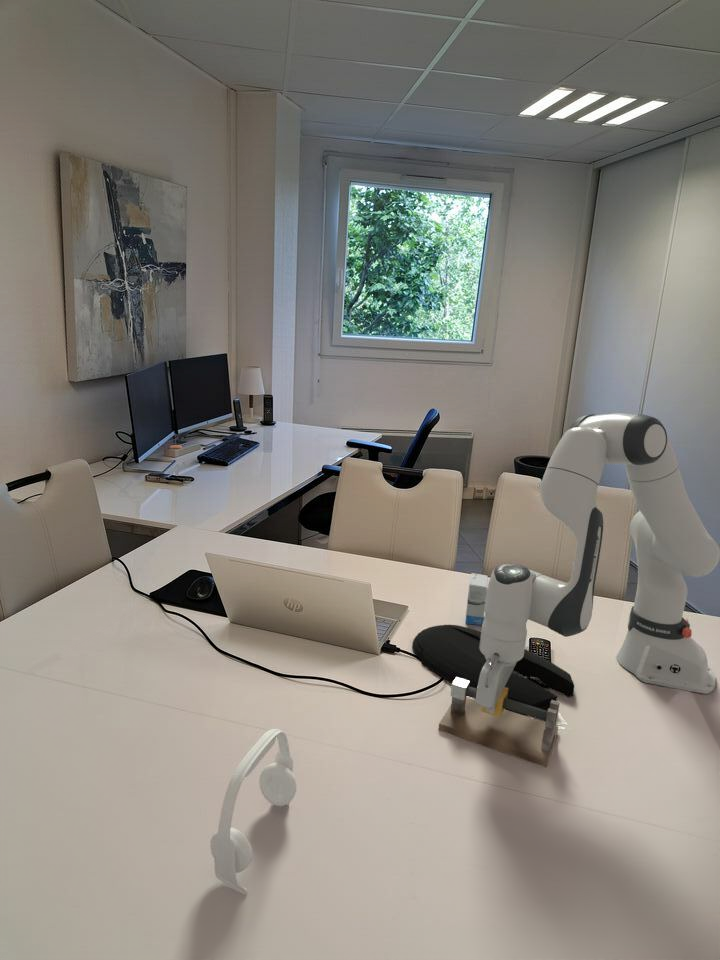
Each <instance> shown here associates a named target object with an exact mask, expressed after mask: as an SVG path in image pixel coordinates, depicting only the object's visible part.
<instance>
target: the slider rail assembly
mask: <svg viewBox="0 0 720 960" xmlns="http://www.w3.org/2000/svg"><path fill="white" fill-rule="evenodd" d="M560 703H561V702H560V701H558V700H557V701H554V700H551V703H550V708H548V711H547V717H546V721H543V720H540V719H537V718H534V717H530V716H524V715H521V714H517V713H514V712H511V711H508V710H505V709H504V711H503V713H502V715H501V717H500V718H499V717H496V716H493V715H490V714H487V713H484V712H481V709H482V707H481V706H478V705H477V704H476V699H475V698H472V697H469V696H467V697H466V704H465V710H464V712H463V714H462V716H460V715H457V714H454V713H451V712H450V711H451V704H450V705H449V707H448V709H447V710H446V712H445V713H444V715H443V716H442V719H440V721H439V722H438V723H439V724H438V731H441V732H444V733H447V734H449V735H452V736H455V737H458V738H461V739H465V741H469V742H473V743H476V744H478V745H481V746H484V747H486V748H490V749H492V750H495V751H498V752H501V753H504V754H507V755H510V756H512V757H514V758H518V759H521V760H524V761H527V762H529V763H532V764H535V765H538V766H540V767H544V768H547V766H548V764H549V763H548V762H549V760H550V756H551V753H552V750H553V749H554V748H553V747H554V744H555V741H556V739H557V735H558V731H559V726H558V725H557V723H558V717H559V716H558V715H559V709H560ZM556 714H557V719H556ZM555 719H556V723H555Z"/></svg>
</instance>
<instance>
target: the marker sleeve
mask: <svg viewBox="0 0 720 960" xmlns="http://www.w3.org/2000/svg"><path fill="white" fill-rule="evenodd" d="M507 694H508V688H507V687H504V689H503V691H502V693H501V695H500V697H499V699H498V701H497V704H496V709H495V712H494V713H493V714H492V713H489V712H487V711H486V710H485V709H486V708H484V707H482V709H481V712H484V713H487V714H490V715H493V716H496V717H499V718H500V717H501V715H502V713H503V711H504V709H505V708H503V700H504V698H507Z"/></svg>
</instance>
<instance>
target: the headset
mask: <svg viewBox="0 0 720 960" xmlns="http://www.w3.org/2000/svg"><path fill="white" fill-rule="evenodd" d="M276 739H277V742H278V743H277V744H278V752H277V753H276V755H275V757H274V762H273V763H270V764H267V765H266V766H265V767H264V768H263V769H262V771H261V772H260V773H261V774H260V776H259V780H258V781H259V782H258V783H259V789H260V792H261V795H262V796H263V798H264V799H265V800H266V801H267V802H269V803H270V804H271V805H273V806H276V807H277V806H278V807H283V806H287V807H289V806H290V803H291V802H292V800H293V799H294V797H295V795H296V793H297V781H296V777H295V775H294V773H293V772H294V759H293V758H292V757H293V756H291V752H290V745H289V742H288V738H287V735H286V733H285V732H283V731H282V730H281V729H279V728H271V729H269V730H268V731H267V730H266V732H265V733H264V734H263V735H262V736H261V737H260V738H259V739H258V740H257V741H256V742H255V744H254V745H253V746H252V747H251V748H250V749H249V751H248V752H247V753H246V754H245V756H244V757H243V758H242V760H241V761H240V763H239V764H238V766H237V767H236V769H235V771H234V772H233V774H232V777H231V778H230V781H229V783H228V785H227V788H226V790H225V794H224V797H223V802H222V804H221V805H222V806H221V812H220V817H219V822H218V827H217V830H216V831H215V832H214V833H213V834H212V836H211V839H210V845H209V846H210V851H211V852H210V854H211V855H212V857H213V859H214V860H213V862H214V872H215V873H214V874H215V877H216V878H217V879H218V880H219V881H220V882H221V883H223V884H224V885H226V886H228V887H229V888H231V889H232V890H234V891H237V892H238V893H240V894H243V895H245V896H247V895H248V889H247V888H246V887H245V886H244V885H242V884H240V883H239V880H238V879H237V874H238V873H243V872H244V871H245V870H247V868H249V866H250V864H251V862H252V858H253V851H252V850H253V849H252V846H251V844H250V841H249V839H248V838H247V837H246V836H245V834H243V833H242V831H240V830H239V829H237V828H235V827H231V826H232V822H233V821H232V820H233V814H234V810H235V805H236V800H237V797H238V794H239V792H240V789H241V786H242V783H243V781H244V780H245V778H247V777H249V775H250V774H251V773H252V772H253V771H254V769H255V768H256V767H257V766H258V764H259V763H261V761H262V760H263V758H264V757H265V756H266V755H267V753H268V752H269V751H270V750H271V748H272V747H273V746H274V744H275V742H276Z"/></svg>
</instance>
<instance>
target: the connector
mask: <svg viewBox="0 0 720 960" xmlns="http://www.w3.org/2000/svg"><path fill="white" fill-rule="evenodd" d="M469 685H470V681H468V680H465V679H462V678H458V677H456V678H455V680H454V681H453V683H451V687H450V688H451V690H450V697H451V702H450V705H451V711H450V712H451V713H454V714H457V715H460V716H462V714H463V712H464V710H465V704H466V697H468V696H466V689H467V687H468V686H469Z"/></svg>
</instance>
